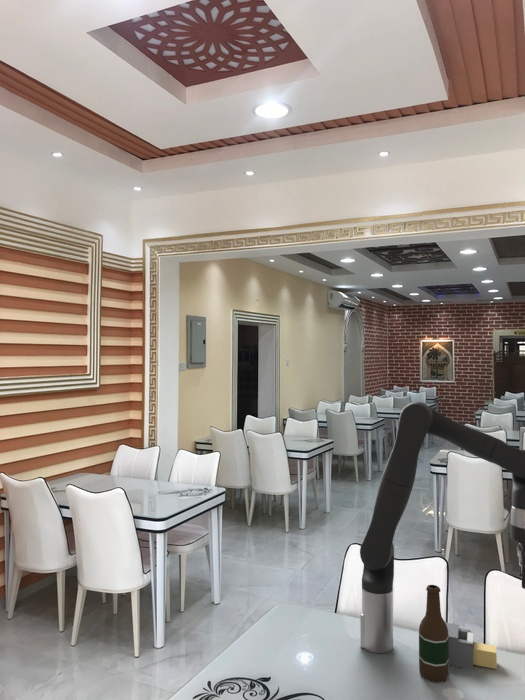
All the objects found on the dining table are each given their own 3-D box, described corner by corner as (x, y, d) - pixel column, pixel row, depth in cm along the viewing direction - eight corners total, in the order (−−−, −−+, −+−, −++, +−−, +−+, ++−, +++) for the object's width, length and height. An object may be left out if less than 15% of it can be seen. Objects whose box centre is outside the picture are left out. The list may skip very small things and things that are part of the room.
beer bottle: (450, 685, 145) (450, 593, 145) (420, 681, 146) (419, 591, 147) (447, 669, 152) (446, 582, 153) (418, 665, 154) (417, 579, 155)
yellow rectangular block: (462, 662, 155) (462, 646, 155) (462, 655, 159) (462, 639, 159) (496, 668, 152) (496, 652, 152) (496, 661, 156) (496, 645, 156)
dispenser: (428, 661, 156) (428, 632, 157) (430, 646, 164) (430, 620, 164) (473, 669, 152) (473, 640, 152) (473, 654, 160) (473, 627, 160)
